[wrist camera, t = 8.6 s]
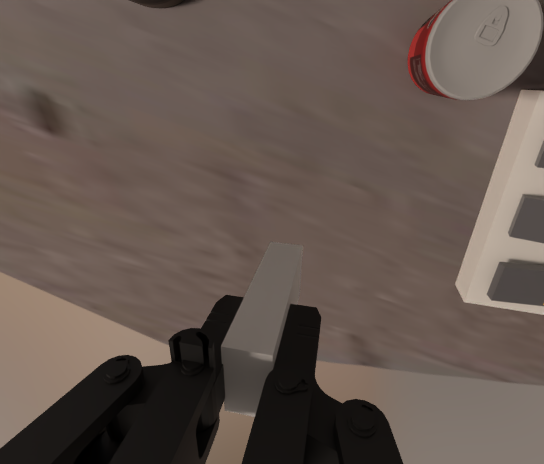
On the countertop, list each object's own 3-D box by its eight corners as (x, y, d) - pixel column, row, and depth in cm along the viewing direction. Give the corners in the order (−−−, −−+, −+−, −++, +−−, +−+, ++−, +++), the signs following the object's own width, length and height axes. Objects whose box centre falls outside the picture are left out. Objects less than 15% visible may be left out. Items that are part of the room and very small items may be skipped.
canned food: (500, 9, 32) (565, -22, 22) (473, 98, 35) (518, 105, 26) (417, 5, 33) (444, -25, 24) (398, 91, 37) (415, 96, 27)
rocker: (499, 261, 37) (505, 267, 36) (567, 268, 36) (576, 274, 35) (486, 294, 39) (491, 301, 37) (551, 301, 38) (558, 308, 37)
